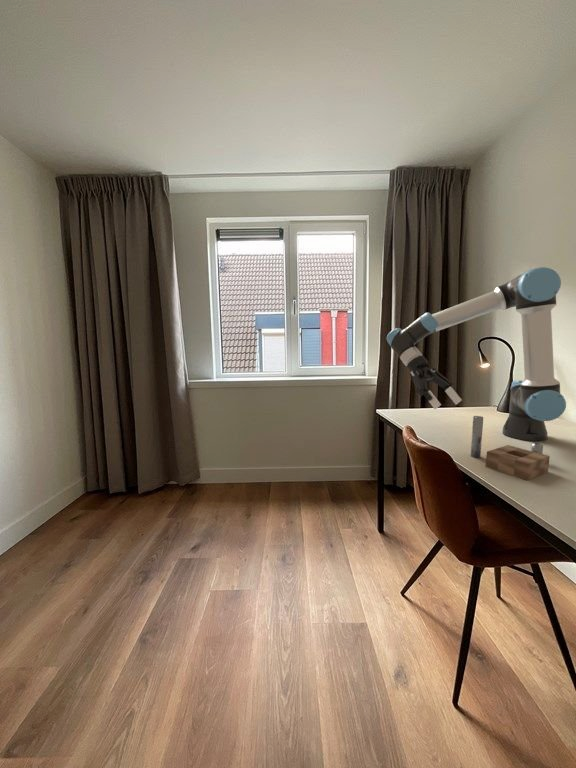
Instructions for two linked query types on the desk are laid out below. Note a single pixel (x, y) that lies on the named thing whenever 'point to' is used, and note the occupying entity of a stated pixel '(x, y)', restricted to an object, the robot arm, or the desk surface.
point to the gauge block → (517, 462)
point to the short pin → (537, 448)
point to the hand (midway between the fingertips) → (448, 404)
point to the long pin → (476, 436)
